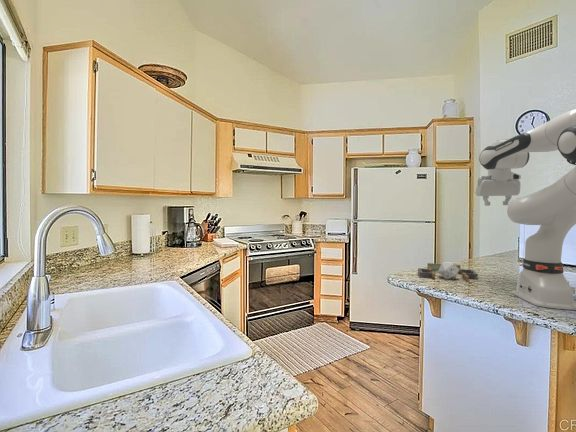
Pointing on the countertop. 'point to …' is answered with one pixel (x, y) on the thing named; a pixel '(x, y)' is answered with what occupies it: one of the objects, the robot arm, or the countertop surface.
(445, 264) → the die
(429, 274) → the trap lane
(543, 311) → the countertop surface
